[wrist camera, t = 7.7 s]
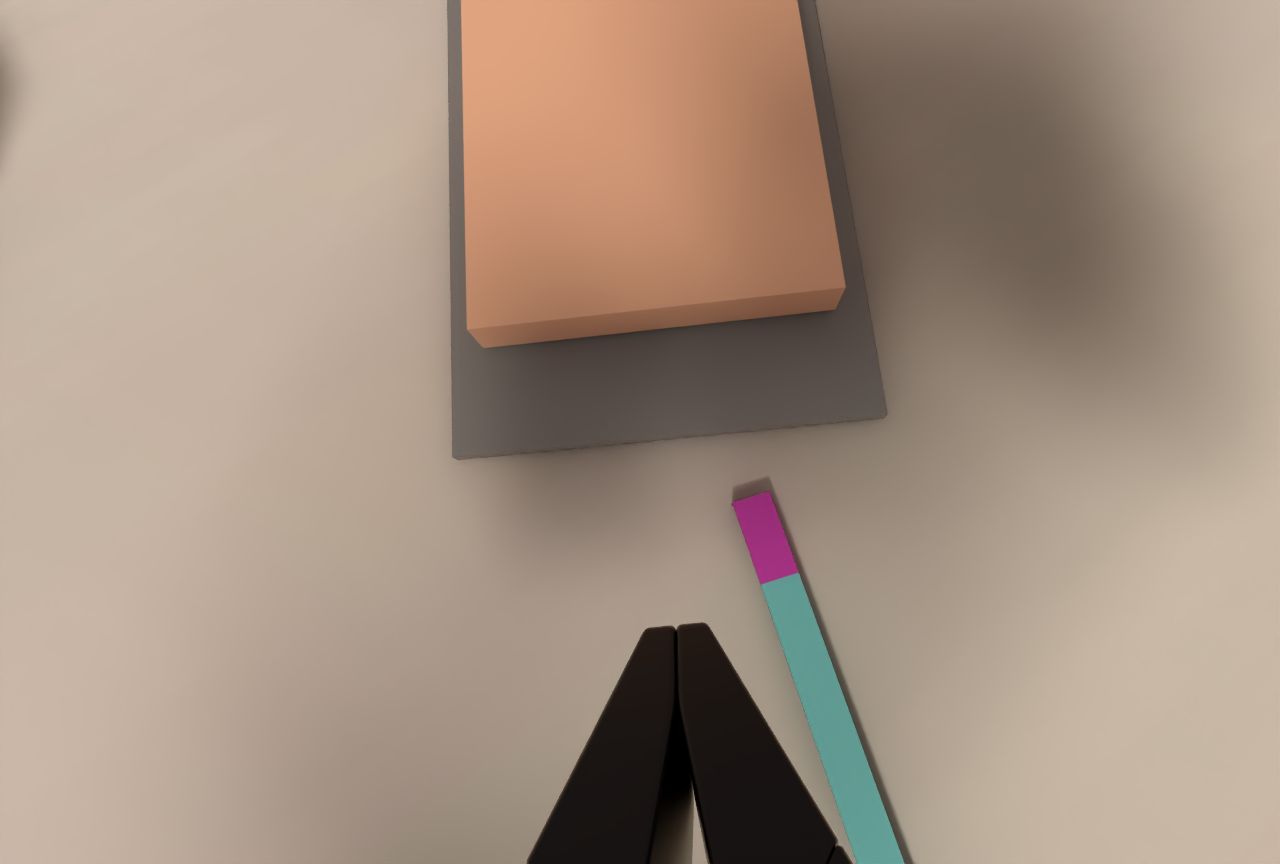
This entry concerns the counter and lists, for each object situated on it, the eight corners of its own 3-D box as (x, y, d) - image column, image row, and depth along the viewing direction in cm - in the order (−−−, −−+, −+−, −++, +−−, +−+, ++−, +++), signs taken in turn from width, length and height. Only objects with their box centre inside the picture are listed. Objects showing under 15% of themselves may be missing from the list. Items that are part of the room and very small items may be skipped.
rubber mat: (883, 418, 18) (887, 414, 18) (457, 459, 19) (452, 457, 19) (794, -91, 22) (796, -103, 22) (450, -40, 23) (446, -51, 23)
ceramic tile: (845, 287, 17) (784, -78, 20) (466, 329, 18) (460, -30, 21) (833, 312, 19) (778, -29, 21) (485, 350, 19) (477, 14, 22)
